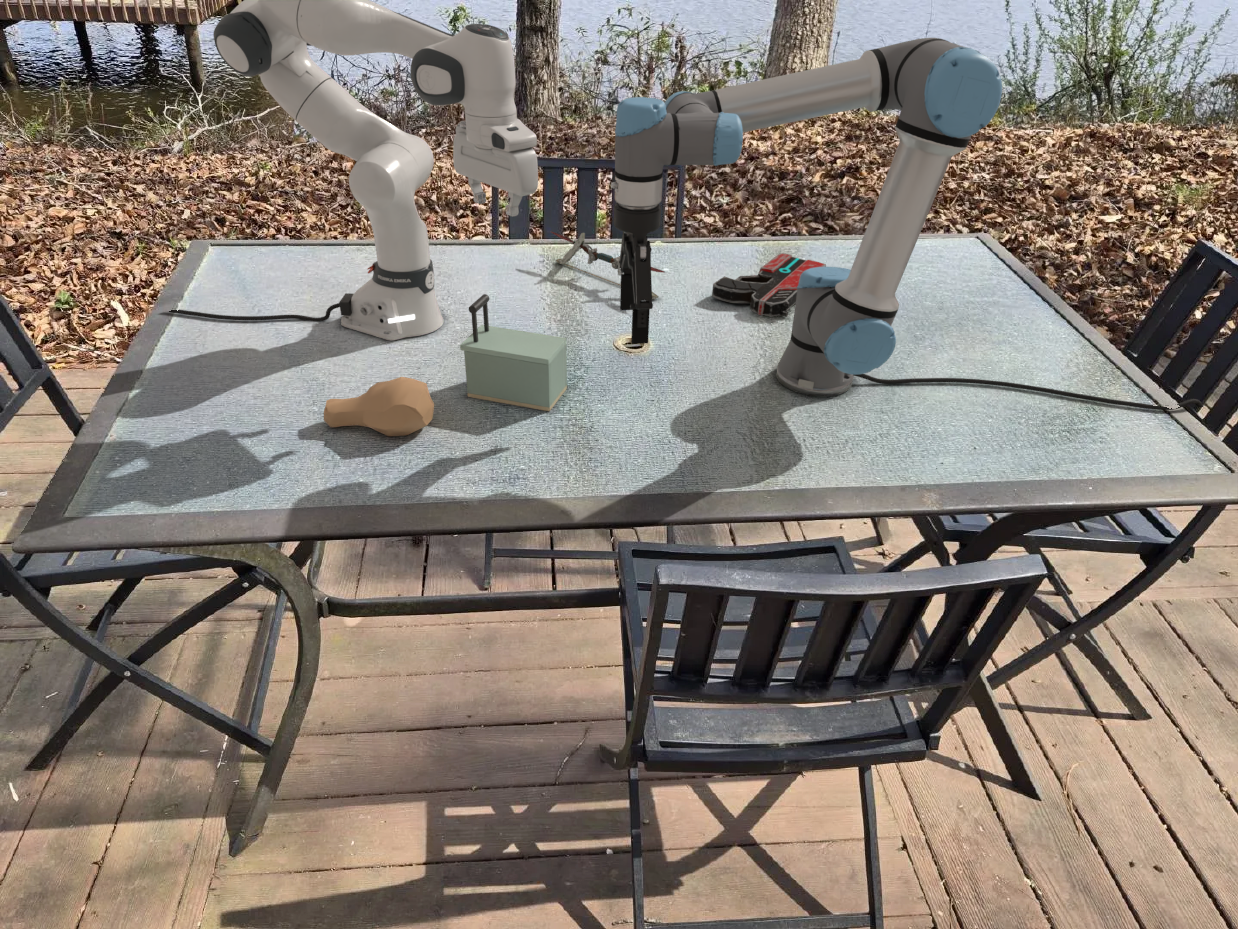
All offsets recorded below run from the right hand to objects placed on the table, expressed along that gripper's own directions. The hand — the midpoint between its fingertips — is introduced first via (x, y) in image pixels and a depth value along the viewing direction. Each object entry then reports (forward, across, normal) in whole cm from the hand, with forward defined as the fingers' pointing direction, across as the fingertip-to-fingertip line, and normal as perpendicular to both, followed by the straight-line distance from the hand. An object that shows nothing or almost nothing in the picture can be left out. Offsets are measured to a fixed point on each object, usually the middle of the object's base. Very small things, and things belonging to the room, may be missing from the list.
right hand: (633, 325), depth 152 cm
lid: (+10, -14, -20) cm, 26 cm away
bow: (+20, -69, +4) cm, 72 cm away
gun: (+20, -59, +44) cm, 76 cm away
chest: (+20, -13, -20) cm, 31 cm away
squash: (+19, -3, -45) cm, 49 cm away
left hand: (-14, -22, -22) cm, 35 cm away
